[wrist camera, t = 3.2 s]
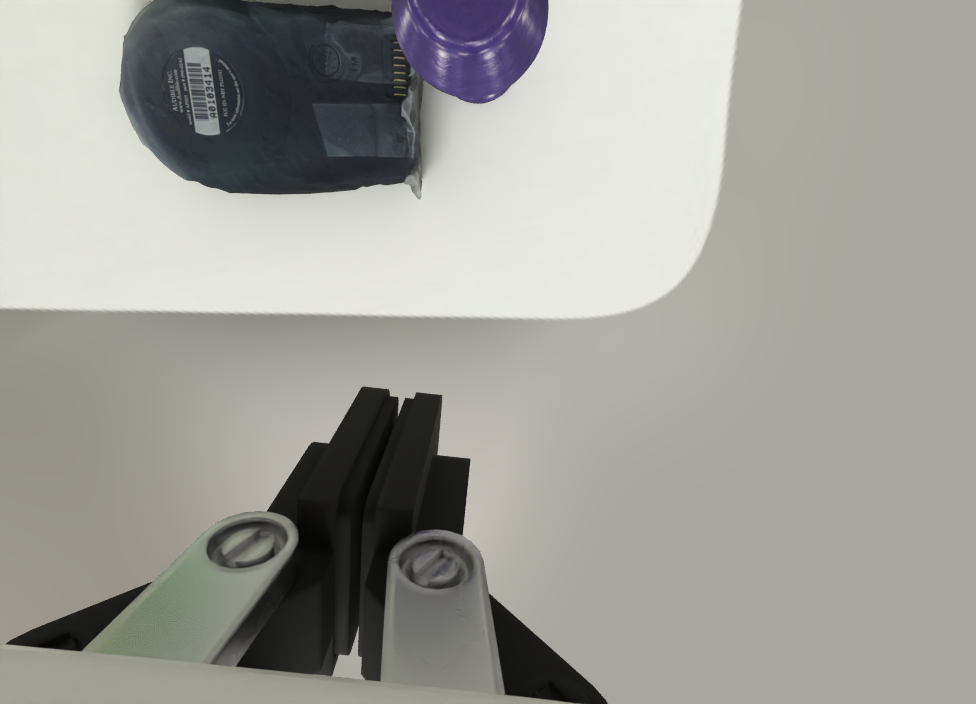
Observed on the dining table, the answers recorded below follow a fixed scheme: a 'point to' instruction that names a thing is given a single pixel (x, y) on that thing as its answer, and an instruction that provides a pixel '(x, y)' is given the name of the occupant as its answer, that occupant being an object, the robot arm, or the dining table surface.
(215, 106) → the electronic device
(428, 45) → the toy lamp
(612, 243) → the dining table surface
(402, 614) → the robot arm
